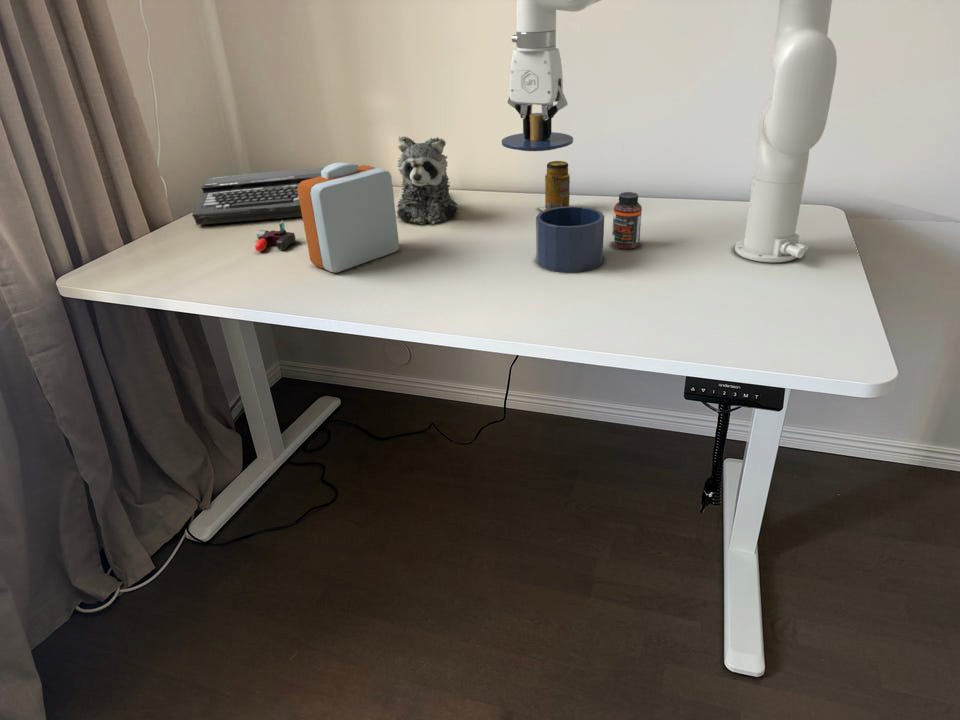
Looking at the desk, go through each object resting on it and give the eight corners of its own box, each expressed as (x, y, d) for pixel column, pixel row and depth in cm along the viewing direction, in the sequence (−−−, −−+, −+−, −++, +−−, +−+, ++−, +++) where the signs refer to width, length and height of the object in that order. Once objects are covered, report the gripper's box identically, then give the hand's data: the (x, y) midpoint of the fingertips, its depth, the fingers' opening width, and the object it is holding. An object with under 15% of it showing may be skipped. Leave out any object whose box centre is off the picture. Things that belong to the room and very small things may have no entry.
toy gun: (262, 237, 170) (258, 218, 168) (302, 241, 165) (298, 222, 163) (235, 250, 162) (230, 230, 160) (276, 255, 158) (271, 235, 155)
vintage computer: (194, 228, 177) (186, 197, 173) (214, 199, 202) (208, 172, 199) (362, 215, 182) (358, 184, 179) (361, 188, 208) (358, 161, 204)
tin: (615, 263, 143) (617, 218, 139) (559, 277, 138) (560, 231, 134) (578, 244, 154) (578, 202, 150) (525, 257, 149) (524, 214, 144)
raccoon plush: (403, 233, 167) (393, 143, 156) (387, 198, 194) (378, 120, 183) (464, 225, 169) (459, 137, 159) (441, 192, 196) (434, 114, 186)
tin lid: (587, 146, 141) (588, 114, 138) (525, 157, 136) (524, 124, 133) (548, 134, 153) (548, 105, 150) (489, 144, 147) (487, 113, 144)
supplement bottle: (609, 249, 151) (612, 197, 145) (613, 239, 156) (615, 189, 150) (637, 250, 149) (641, 198, 143) (640, 241, 154) (644, 190, 148)
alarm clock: (377, 242, 162) (366, 153, 152) (401, 250, 156) (390, 158, 146) (309, 266, 151) (292, 171, 141) (332, 275, 145) (316, 177, 135)
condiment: (566, 205, 180) (566, 158, 174) (577, 214, 172) (577, 166, 167) (539, 208, 179) (538, 161, 173) (548, 218, 171) (548, 169, 165)
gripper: (490, 43, 136) (494, 139, 145) (566, 43, 128) (565, 145, 137) (509, 39, 141) (512, 132, 150) (583, 39, 133) (581, 137, 142)
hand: (537, 137), depth 144 cm, fingers closed on tin lid, 3 cm apart
